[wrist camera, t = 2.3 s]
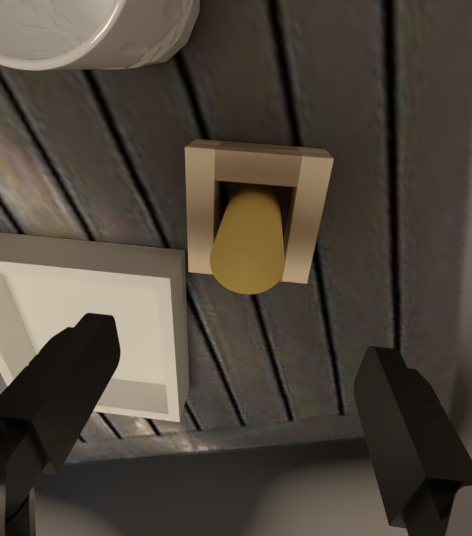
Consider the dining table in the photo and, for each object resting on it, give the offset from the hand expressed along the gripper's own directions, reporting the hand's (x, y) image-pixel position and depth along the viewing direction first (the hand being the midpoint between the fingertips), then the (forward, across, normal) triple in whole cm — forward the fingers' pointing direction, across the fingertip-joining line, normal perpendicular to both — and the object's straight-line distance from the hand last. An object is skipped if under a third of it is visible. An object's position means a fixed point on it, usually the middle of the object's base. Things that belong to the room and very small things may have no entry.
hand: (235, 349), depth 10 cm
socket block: (+13, 0, 0) cm, 13 cm away
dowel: (+13, 0, 0) cm, 13 cm away
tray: (+13, +13, +12) cm, 22 cm away
